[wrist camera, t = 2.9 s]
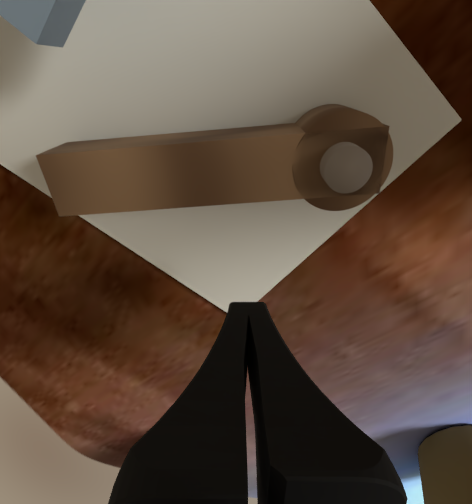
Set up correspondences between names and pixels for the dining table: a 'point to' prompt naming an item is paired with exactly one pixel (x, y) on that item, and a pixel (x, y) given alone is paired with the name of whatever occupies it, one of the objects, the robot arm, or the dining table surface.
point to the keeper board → (207, 110)
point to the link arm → (225, 166)
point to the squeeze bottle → (447, 466)
